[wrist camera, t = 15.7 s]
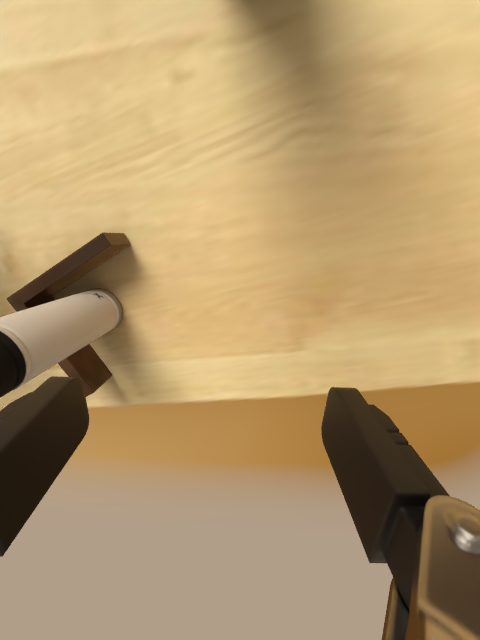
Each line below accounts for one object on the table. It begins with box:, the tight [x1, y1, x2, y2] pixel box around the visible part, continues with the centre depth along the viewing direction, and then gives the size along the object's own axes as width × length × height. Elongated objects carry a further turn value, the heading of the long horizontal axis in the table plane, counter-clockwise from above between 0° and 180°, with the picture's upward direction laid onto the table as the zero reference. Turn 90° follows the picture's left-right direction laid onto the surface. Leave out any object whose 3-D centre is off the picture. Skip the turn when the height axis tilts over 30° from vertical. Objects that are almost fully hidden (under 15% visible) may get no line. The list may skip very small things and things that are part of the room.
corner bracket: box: [7, 233, 130, 397], centre depth 36 cm, size 16×16×5 cm
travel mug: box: [0, 289, 122, 397], centre depth 29 cm, size 6×7×20 cm
